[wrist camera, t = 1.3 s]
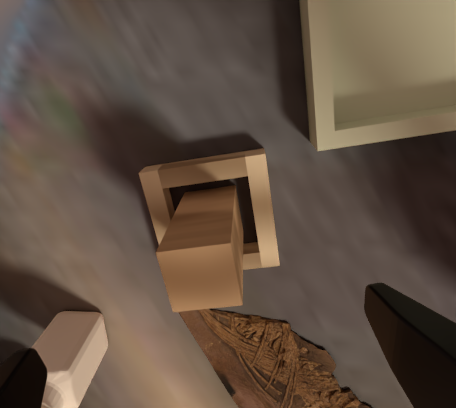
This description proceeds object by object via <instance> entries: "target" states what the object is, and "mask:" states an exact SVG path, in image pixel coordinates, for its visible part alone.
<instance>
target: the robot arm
mask: <svg viewBox="0 0 456 408" xmlns="http://www.w3.org/2000/svg"><path fill="white" fill-rule="evenodd" d="M364 309H365V314H366V316H367V318H368V321H369V323H370V325H371V327H372V329H373V331H374V334H375V336H376V338H377V340H378V342H379V344H380V346H381V349H382V351H383V353H384V355H385V357H386V359H387V361H388V364H389V366H390V368H391V369H392V371H393V373H394V375H395V377H396V378H397V380H398V382H399V383H400V385H401V387H402V388H403V390H404V392H405V393H406V395H407V397H408V399H409V400H410V402H411V404H412V405H413V407H414V408H456V323H455V322H453V321H451V320H449V319H447V318H445V317H444V316H442V315H440V314H438V313H436V312H435V311H433V310H431V309H429V308H427V307H426V306H424V305H422V304H420V303H418V302H416V301H415V300H413V299H411V298H409V297H407V296H406V295H404V294H402V293H400V292H398V291H397V290H395V289H393V288H391V287H389V286H388V285H386V284H384V283H375V284H369V285H367V286H366V289H365V303H364ZM46 381H47V368H46V366H45V364H44V362H43V361H42V359H41V357H40V355H39V354H38V352H37V351H36V350H35V349H34V348H28V349H23V350H19V351H16V352H15V353H14V354H12V355H11V356H10V357H9V358H8V359H7V360H6V361H5V362H4V363H3V364H2V365H0V408H41V405H42V400H43V395H44V391H45V386H46Z"/></svg>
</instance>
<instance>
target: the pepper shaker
mask: <svg viewBox="0 0 456 408" xmlns="http://www.w3.org/2000/svg"><path fill="white" fill-rule="evenodd" d="M107 347H108V340H107V335H106V329H105V324H104V319H103V316H102V314H101V313H98V312H81V311H63V312H60V313H58V314H57V315H56V316H55V317H54V319H53V320H52V321H51V323H50V324H49V325H48V326H47V328H46V329H45V330H44V332H43V333H42V334H41V336H40V337H39V338H38V340H37V341H36V342H35V344H34V345H33V346H32V348H34V349H35V350H36V351H37V352H38V354H39V355H40V357H41V359H42V361H43V362H44V364H45V366H46V368H47V381H46V386H45V391H44V395H43V400H42V405H41V408H78V406H79V405H80V403H81V401H82V399H83V397H84V394H85V392H86V390H87V388H88V386H89V384H90V382H91V380H92V378H93V376H94V374H95V372H96V370H97V368H98V366H99V364H100V362H101V360H102V358H103V356H104V354H105V352H106V350H107Z"/></svg>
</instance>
